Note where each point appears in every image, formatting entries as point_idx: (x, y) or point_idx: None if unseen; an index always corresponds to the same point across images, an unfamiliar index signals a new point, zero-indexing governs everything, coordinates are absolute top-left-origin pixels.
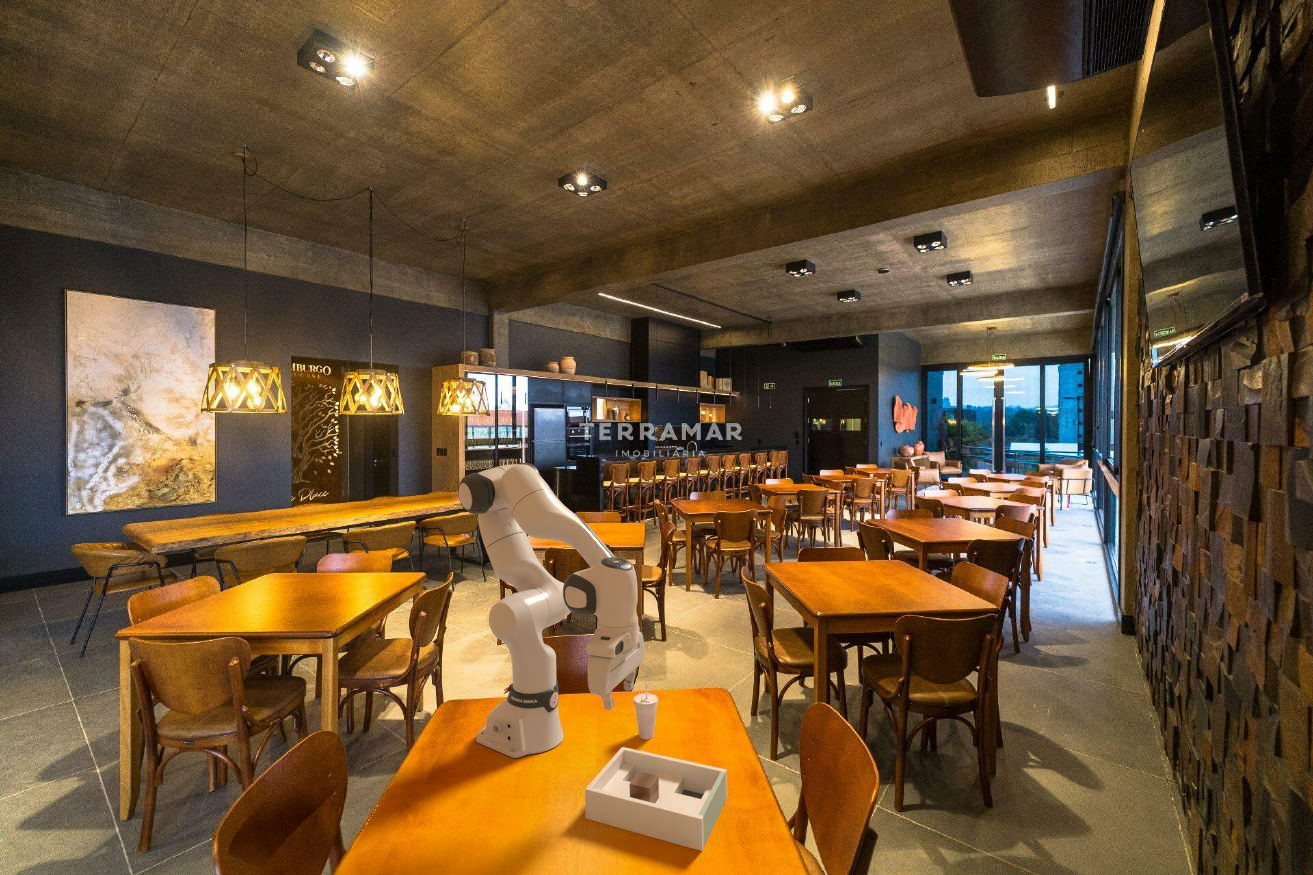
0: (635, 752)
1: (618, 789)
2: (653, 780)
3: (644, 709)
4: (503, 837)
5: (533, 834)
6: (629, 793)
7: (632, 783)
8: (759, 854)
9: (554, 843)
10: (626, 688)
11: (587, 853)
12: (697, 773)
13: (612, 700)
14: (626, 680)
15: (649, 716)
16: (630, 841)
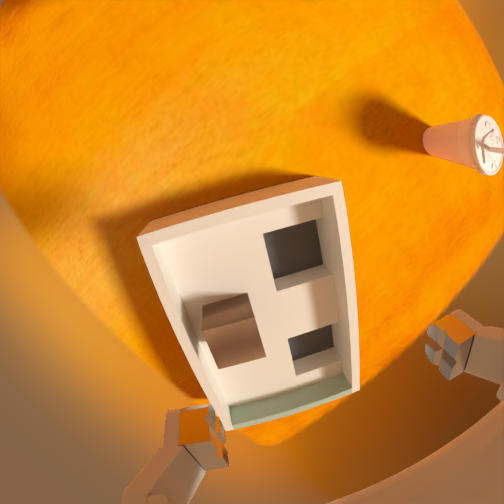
0: (338, 227)
1: (228, 250)
2: (246, 358)
3: (467, 153)
4: (34, 146)
5: (64, 179)
6: (233, 278)
7: (207, 335)
8: (261, 430)
9: (74, 227)
10: (434, 339)
11: (99, 288)
12: (345, 349)
13: (204, 470)
14: (474, 341)
15: (459, 160)
16: (165, 323)
